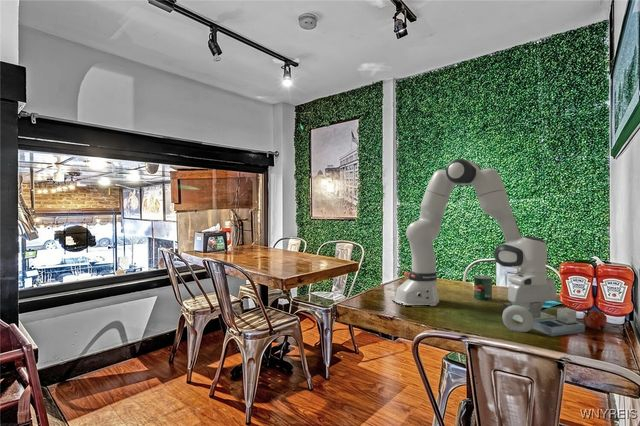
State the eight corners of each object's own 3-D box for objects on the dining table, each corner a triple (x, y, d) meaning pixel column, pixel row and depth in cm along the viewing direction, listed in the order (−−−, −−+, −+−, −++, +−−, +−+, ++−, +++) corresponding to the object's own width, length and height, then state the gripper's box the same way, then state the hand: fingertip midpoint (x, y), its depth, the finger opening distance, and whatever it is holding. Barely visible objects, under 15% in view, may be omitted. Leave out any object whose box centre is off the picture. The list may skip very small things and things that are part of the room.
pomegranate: (599, 332, 129) (574, 313, 132) (615, 320, 126) (589, 301, 129) (603, 341, 123) (576, 321, 126) (620, 328, 120) (592, 308, 123)
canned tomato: (471, 299, 167) (471, 276, 167) (478, 296, 172) (478, 274, 172) (487, 302, 161) (488, 279, 161) (494, 299, 166) (494, 277, 166)
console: (516, 317, 139) (516, 308, 139) (503, 312, 146) (503, 303, 146) (530, 316, 141) (530, 306, 141) (516, 311, 148) (516, 301, 148)
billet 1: (532, 321, 131) (532, 303, 131) (523, 318, 135) (523, 300, 135) (540, 320, 132) (541, 302, 132) (531, 317, 136) (532, 300, 136)
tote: (529, 328, 128) (529, 320, 127) (511, 320, 136) (511, 312, 136) (556, 324, 131) (556, 316, 131) (536, 317, 139) (536, 310, 139)
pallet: (552, 338, 117) (552, 328, 117) (532, 330, 125) (532, 321, 125) (585, 334, 121) (585, 324, 121) (563, 326, 129) (564, 317, 129)
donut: (501, 331, 125) (501, 304, 125) (502, 328, 128) (502, 301, 127) (533, 337, 119) (533, 309, 119) (534, 334, 122) (534, 306, 121)
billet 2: (567, 331, 122) (567, 311, 122) (556, 327, 126) (557, 308, 125) (576, 330, 123) (576, 310, 123) (565, 326, 127) (565, 307, 126)
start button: (516, 312, 142) (516, 304, 141) (510, 309, 145) (510, 302, 145) (522, 311, 142) (522, 304, 142) (516, 309, 145) (516, 302, 145)
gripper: (546, 274, 139) (545, 308, 139) (505, 277, 133) (504, 312, 134) (561, 278, 133) (560, 313, 133) (518, 281, 127) (517, 317, 128)
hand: (532, 313), depth 133 cm, fingers closed on billet 1, 4 cm apart
